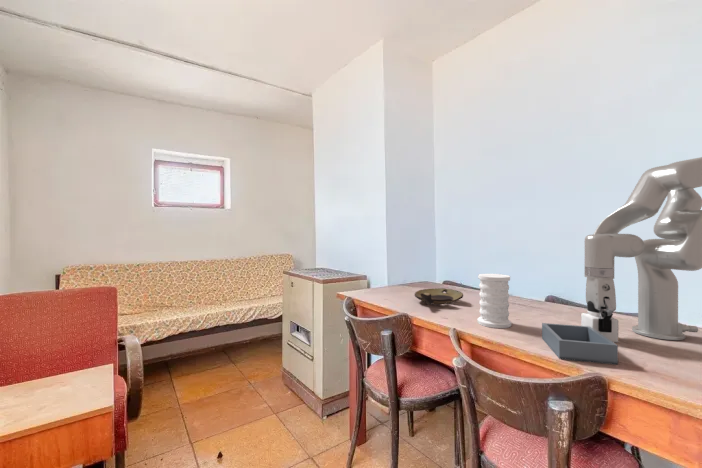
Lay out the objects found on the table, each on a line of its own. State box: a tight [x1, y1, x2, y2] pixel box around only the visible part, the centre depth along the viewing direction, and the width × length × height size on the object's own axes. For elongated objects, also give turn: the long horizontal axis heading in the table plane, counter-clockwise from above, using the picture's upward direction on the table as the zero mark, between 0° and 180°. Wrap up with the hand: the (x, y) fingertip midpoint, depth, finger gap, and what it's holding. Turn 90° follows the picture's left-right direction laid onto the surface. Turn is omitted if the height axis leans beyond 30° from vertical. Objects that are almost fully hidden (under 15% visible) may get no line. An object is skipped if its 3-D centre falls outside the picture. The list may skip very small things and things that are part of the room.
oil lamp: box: [414, 287, 464, 306], centre depth 152 cm, size 22×30×8 cm
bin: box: [541, 322, 619, 366], centre depth 91 cm, size 13×17×5 cm
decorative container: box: [476, 273, 512, 329], centre depth 118 cm, size 12×12×18 cm
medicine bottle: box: [580, 301, 619, 343], centre depth 101 cm, size 7×7×12 cm
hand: (599, 327), depth 101 cm, fingers closed on medicine bottle, 7 cm apart
